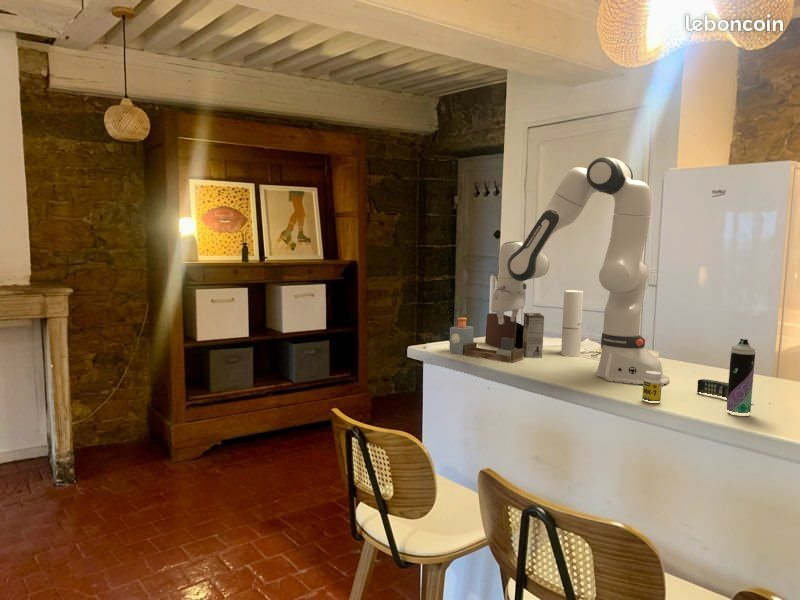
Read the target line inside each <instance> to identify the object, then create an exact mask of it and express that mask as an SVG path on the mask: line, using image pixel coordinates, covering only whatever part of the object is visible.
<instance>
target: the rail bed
mask: <svg viewBox="0 0 800 600" xmlns="http://www.w3.org/2000/svg"><path fill="white" fill-rule="evenodd" d="M477 343H478V342H475V341H474V342H473V343H469V344H466V345H464V355H463V356H466V357H471V358H472V357H473V358H479V359H484V360H485V359H486V360H491V361H497V362H498V361H499V362H505V363H510V364H514V363H517V362H520V361H523V360H524V354H523V349H519V350H515V351H512V352H511V357H509V356H502V355H496V349H488V348H483V347H478V344H477Z"/></svg>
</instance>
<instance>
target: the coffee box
mask: <svg viewBox="0 0 800 600" xmlns="http://www.w3.org/2000/svg"><path fill="white" fill-rule="evenodd" d="M544 325H545V315H543V314H541V313H540V312H523V356H525V358H532V359H533V358H536V359H538V358H540V359H542V358H543V352H544V351H543V350H544V349H543V347H544V345H543V344H544V329H545V328H544V327H545V326H544Z"/></svg>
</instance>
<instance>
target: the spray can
mask: <svg viewBox="0 0 800 600" xmlns="http://www.w3.org/2000/svg"><path fill="white" fill-rule="evenodd" d="M739 340H740V341H739V342H738V343H737V344H735V345H734V346H732V347H731V350H730V359H729V371H728V382H727V383H728V396H727V400H726V409H727V410H729V411H732V412H738V413H748V412H750V413H751V410H752V409H751V408H752V404H751V402H752V400H753V399H752V398H753V397H752V395H753V384H754V375H755V374H754V372H755V359H756V349H755V348H754V347H752V346H751V344H750V343H749V339H745V338H744V339H743V338H740V339H739Z"/></svg>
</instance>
